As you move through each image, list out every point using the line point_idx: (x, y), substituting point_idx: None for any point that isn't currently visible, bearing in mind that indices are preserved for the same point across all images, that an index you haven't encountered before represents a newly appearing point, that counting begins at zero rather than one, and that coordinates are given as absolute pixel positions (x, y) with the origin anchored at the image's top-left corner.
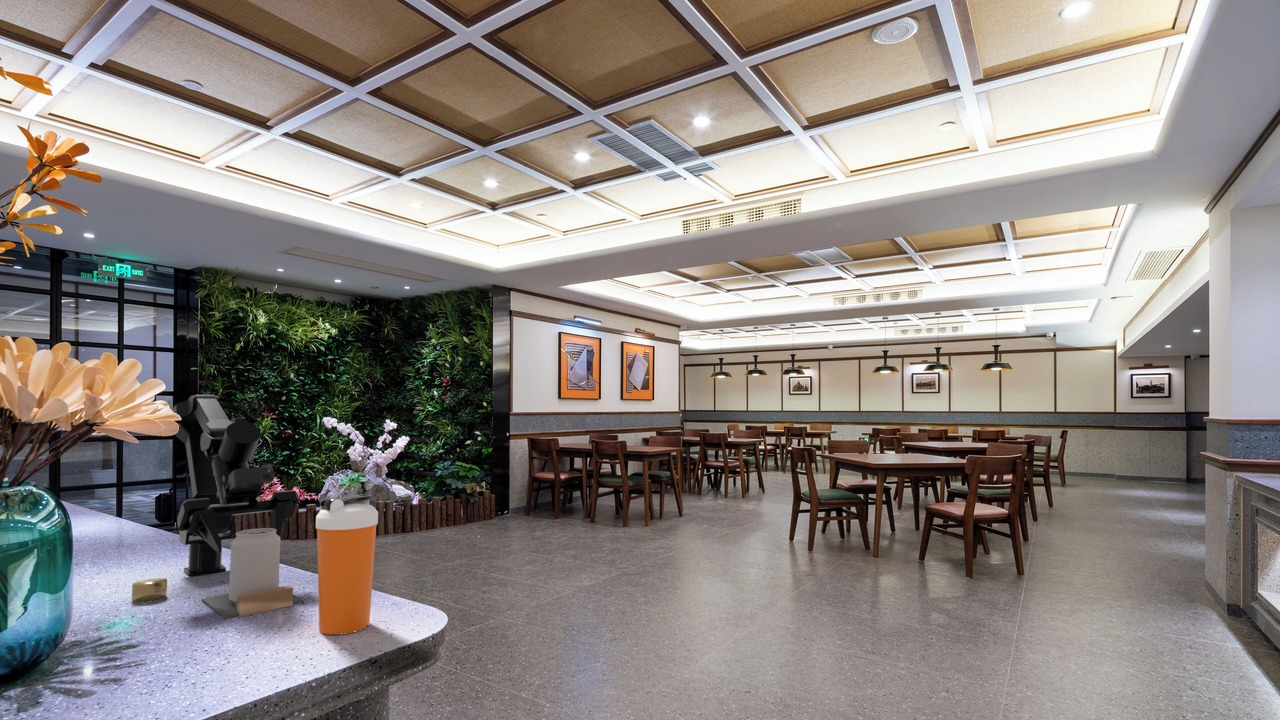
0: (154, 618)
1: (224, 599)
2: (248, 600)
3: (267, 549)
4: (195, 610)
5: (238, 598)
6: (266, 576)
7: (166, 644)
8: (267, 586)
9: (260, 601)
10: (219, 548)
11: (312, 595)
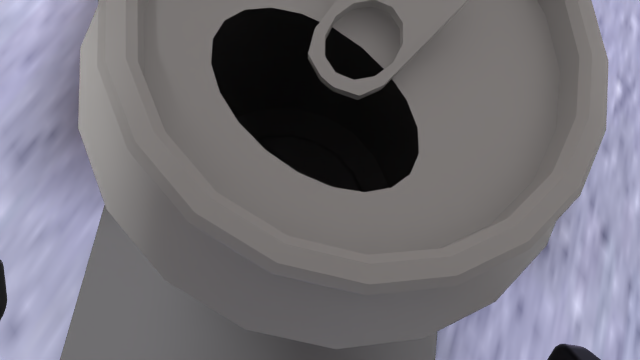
0: (624, 343)
1: (361, 357)
2: None
3: None
4: (487, 321)
5: None
6: (295, 55)
7: (636, 11)
8: (281, 84)
9: None
10: (586, 351)
11: (59, 98)
